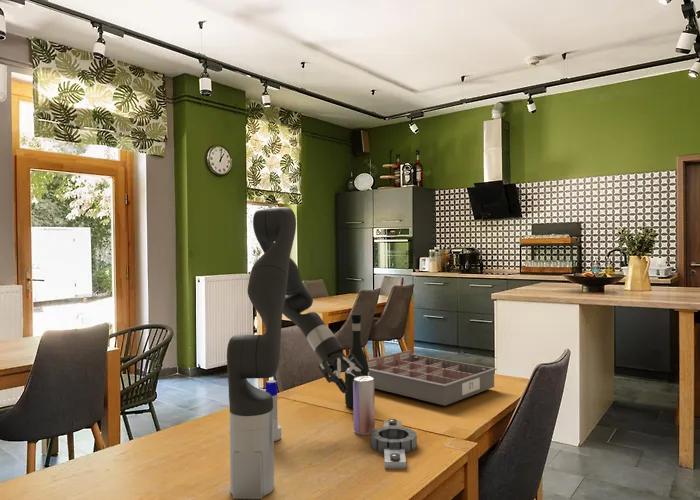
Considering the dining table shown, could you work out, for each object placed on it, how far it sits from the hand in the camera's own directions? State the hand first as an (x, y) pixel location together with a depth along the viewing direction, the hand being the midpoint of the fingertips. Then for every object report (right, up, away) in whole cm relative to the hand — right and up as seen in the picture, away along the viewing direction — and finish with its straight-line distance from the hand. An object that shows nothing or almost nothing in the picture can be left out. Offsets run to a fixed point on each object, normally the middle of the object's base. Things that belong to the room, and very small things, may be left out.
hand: (355, 388), depth 149 cm
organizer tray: (+26, -12, +42) cm, 51 cm away
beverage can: (+2, -12, -2) cm, 12 cm away
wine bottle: (+1, -12, +22) cm, 25 cm away
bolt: (-23, -12, -6) cm, 27 cm away
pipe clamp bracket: (+10, -12, -12) cm, 20 cm away
